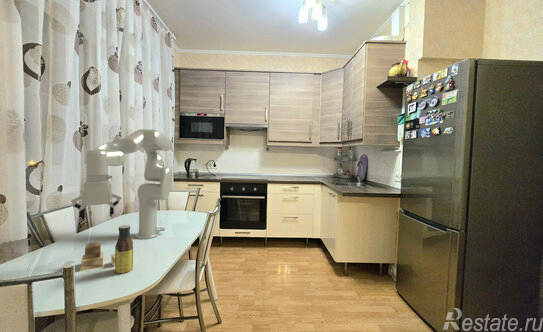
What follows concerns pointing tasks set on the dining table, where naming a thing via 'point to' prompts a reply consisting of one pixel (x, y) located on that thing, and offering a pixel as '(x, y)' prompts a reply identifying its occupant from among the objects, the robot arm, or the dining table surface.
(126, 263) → the sauce bottle
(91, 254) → the walnut cube
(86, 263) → the oak plinth
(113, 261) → the maple block
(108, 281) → the dining table surface
